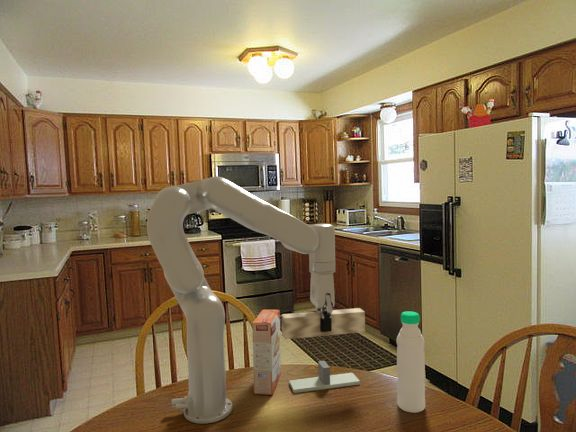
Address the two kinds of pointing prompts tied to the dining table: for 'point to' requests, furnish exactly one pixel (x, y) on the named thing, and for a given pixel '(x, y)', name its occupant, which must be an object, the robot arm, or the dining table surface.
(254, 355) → the cracker box
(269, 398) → the dining table surface
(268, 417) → the dining table surface
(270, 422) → the dining table surface
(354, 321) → the birch bar
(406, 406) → the water bottle
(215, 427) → the dining table surface
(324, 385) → the stand
